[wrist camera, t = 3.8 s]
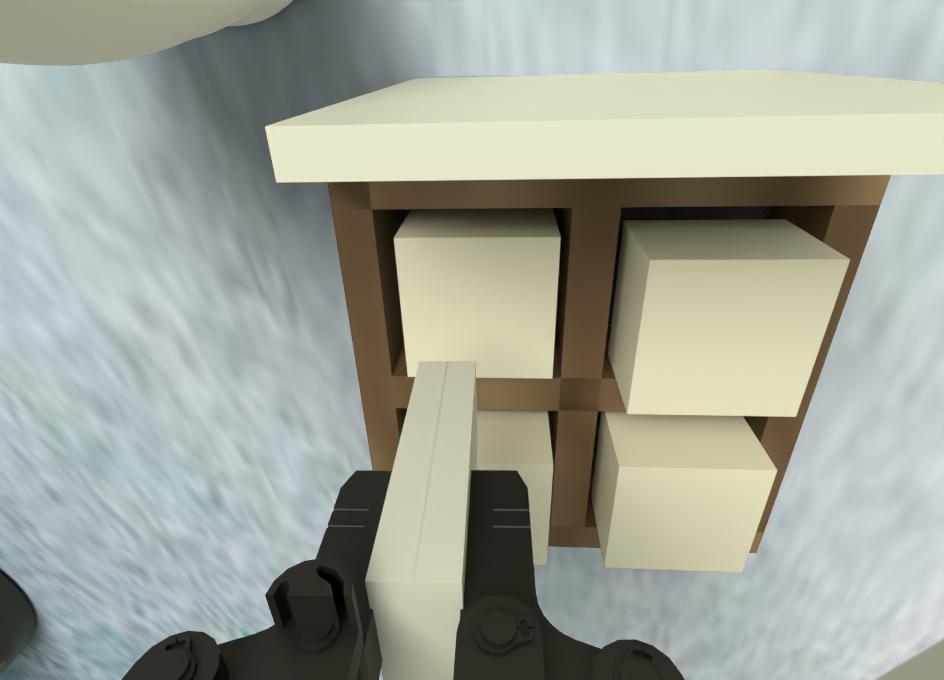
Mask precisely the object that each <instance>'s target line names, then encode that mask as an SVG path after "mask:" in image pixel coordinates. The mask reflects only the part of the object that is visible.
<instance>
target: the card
mask: <svg viewBox="0 0 944 680" xmlns="http://www.w3.org/2000/svg"><path fill="white" fill-rule="evenodd" d="M265 130H266V135H267V139H268V144H269V149H270V154H271V159H272V164H273V169H274V174H275V179H276V183H278V182H358V181H438V180H518V179H598V178H678V177H757V176H837V175H917V174H944V83H936V82H923V81H911V80H898V79H886V78H873V77H860V76H848V75H835V74H823V73H810V72H798V71H785V70H772V69H762V70H723V71H684V72H645V73H605V74H566V75H527V76H488V77H449V78H415V79H412V80H408V81H405V82H402V83H399V84H396V85H393V86H390V87H386V88H383V89H380V90H377V91H374V92H371V93H368V94H365V95H361V96H358V97H355V98H352V99H349V100H346V101H343V102H340V103H336V104H333V105H330V106H327V107H324V108H321V109H318V110H315V111H311V112H308V113H305V114H302V115H299V116H296V117H293V118H289V119H286V120H283V121H280V122H277V123H274V124H271V125H268V126H265Z"/></svg>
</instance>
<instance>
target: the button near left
mask: <svg viewBox="0 0 944 680" xmlns="http://www.w3.org/2000/svg"><path fill="white" fill-rule="evenodd" d="M560 241H561V236H560V233H559V229H558V225H557V222H556V218H555V215H554V211H553V208H486V209H411V210H410V212H409V214H408V215H407V217H406V218H405V220H404V222H403V223H402V225H401V227H400V228H399V230H398V232H397V233H396V235H395V237H394V246H395V256H396V266H397V275H398V285H399V295H400V305H401V315H402V325H403V334H404V344H405V354H406V364H407V374H408V377H415V376H416V372H417V368H418V364H419V361H476V378H543V379H552V376H553V359H554V342H555V325H556V308H557V291H558V274H559V258H560Z"/></svg>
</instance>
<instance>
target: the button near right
mask: <svg viewBox="0 0 944 680" xmlns="http://www.w3.org/2000/svg"><path fill="white" fill-rule="evenodd" d="M849 262H850V259H849V258H847V257H846V256H844V255H842V254H841V253H839V252H838V251H836V250H834V249H833V248H831V247H829V246H828V245H826V244H825V243H823V242H821V241H820V240H818V239H816V238H815V237H813V236H812V235H810V234H808V233H807V232H805V231H804V230H802V229H800V228H799V227H797V226H795V225H794V224H792V223H791V222H789V221H787V220H786V219H767V220H629V221H624V222H623V231H622V239H621V247H620V256H619V264H618V273H617V281H616V290H615V298H614V307H613V315H612V324H611V332H610V341H609V349H608V357H609V360H610V363H611V366H612V369H613V372H614V375H615V378H616V381H617V384H618V387H619V390H620V394H621V397H622V400H623V403H624V406H625V409H626V412H627V414H656V415H716V416H776V417H796V415H797V412H798V410H799V407H800V404H801V401H802V398H803V395H804V392H805V389H806V386H807V384H808V381H809V378H810V375H811V372H812V369H813V366H814V363H815V360H816V357H817V355H818V352H819V349H820V346H821V343H822V340H823V337H824V334H825V331H826V329H827V326H828V323H829V320H830V317H831V314H832V311H833V308H834V305H835V302H836V300H837V297H838V294H839V291H840V288H841V285H842V282H843V279H844V276H845V273H846V271H847V268H848V265H849Z"/></svg>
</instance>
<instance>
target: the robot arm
mask: <svg viewBox="0 0 944 680" xmlns="http://www.w3.org/2000/svg"><path fill="white" fill-rule="evenodd" d="M477 448H478V431H477V391H476V361H419V364H418V368H417V372H416V376H415V380H414V384H413V388H412V392H411V396H410V401H409V405H408V409H407V413H406V417H405V421H404V425H403V429H402V433H401V437H400V441H399V445H398V449H397V453H396V457H395V461H394V465H393V470H392V471H356V472H355V473H354V474H353V475H352V476H351V477H350V478H349V479H348V480H347V482H346V483H345V484H344V485H343V486H342V487H341V489H340V492H339V495H338V498H337V500H336V503H335V506H334V511H333V512H332V515H331V517H330V520H329V523H328V528H327V529H326V531H325V534H324V537H323V540H322V543H321V546H320V548H319V551H318V554H317V557H316V559H315V560H308V561H304V562H301V563H299V564H297V565H295V566H293V567H291V568H288V569H287V570H286V571H285V572H284V573H283V574H281V575H280V576H279V577H278V578H277V579H276V580H275V581H274V582H273V584H272V585H271V587H270V588H269V590H268V592H267V593H266V595H265V596H266V599H267V602H268V605H269V608H270V611H271V614H272V617H273V620H274V623H275V625H273V626H272V627H270V628H268V629H266V630H263V631H261V632H258V633H256V634H253V635H249V636H246V637H243V638H239V639H236V640H232V641H229V642H226V643H222V644H219V645H217V644H216V641H215V639H214V638H212V637H210V636H209V635H207V634H206V633H204V632H195V631H186V632H183V633H179V634H176V635H172V636H169V637H168V638H166V639H164V640H163V641H161V642H159V643H158V644H156V645H154V646H153V647H151V648H150V649H149V650H148V651H147V652H146V653H145V654H144V655H143V656H142V657H141V658H140V659H139V660H138V661H137V662H136V663H135V664H134V665H133V666H132V668H131V669H130V670H129V671H128V673H127V674H126V675H125V676H124V677H123V679H122V680H379V675H380V670H381V669H382V674H383V679H384V680H684V678H683V676H682V674H681V673H680V672H679V670H678V669H677V668H676V666H675V665H674V664H673V662H672V661H671V660H670V658H669V657H667V656H666V655H665V654H663V653H662V652H661V651H659V650H658V649H657V648H655V647H654V646H652V645H649V644H647V643H644V642H641V641H638V640H617V641H615V642H613V643H611V644H609V645H607V646H604V648H603V649H600V648H597V647H594V646H591V645H589V644H586V643H583V642H580V641H577V640H575V639H573V638H571V637H569V636H567V635H564V634H562V633H561V632H560V631H559V630H557V629H556V628H555V627H554V626H552V625H551V624H550V622H549V621H548V620H547V619H546V617H545V616H544V615H543V613H542V611H541V609H540V607H539V605H538V601H537V596H536V589H535V576H534V563H533V550H532V536H531V523H530V512H529V497H528V487H527V486H526V484H525V483H524V481H523V479H522V478H521V476H520V475H519V473H518V471H517V470H477ZM34 631H35V617H34V614H33V611H32V609H31V607H30V605H29V603H28V602H27V600H26V599H25V597H24V596H23V595H22V593H21V592H20V591H19V590H18V589H17V588H16V587H15V586H14V585H13V584H12V583H11V582H10V581H9V580H8V579H7V578H6V577H5V576H3V575H2V574H1V573H0V674H1V673H2V672H3V671H4V670H5V669H6V668H7V667H8V666H9V665H10V664H11V663H12V662H13V660H14V659H15V658H16V657H17V656H18V654H19V653H20V652H21V651H22V649H23V648H24V647H25V646H26V644H27V643H28V642H29V641H30V639H31V638H32V636H33V634H34Z"/></svg>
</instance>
